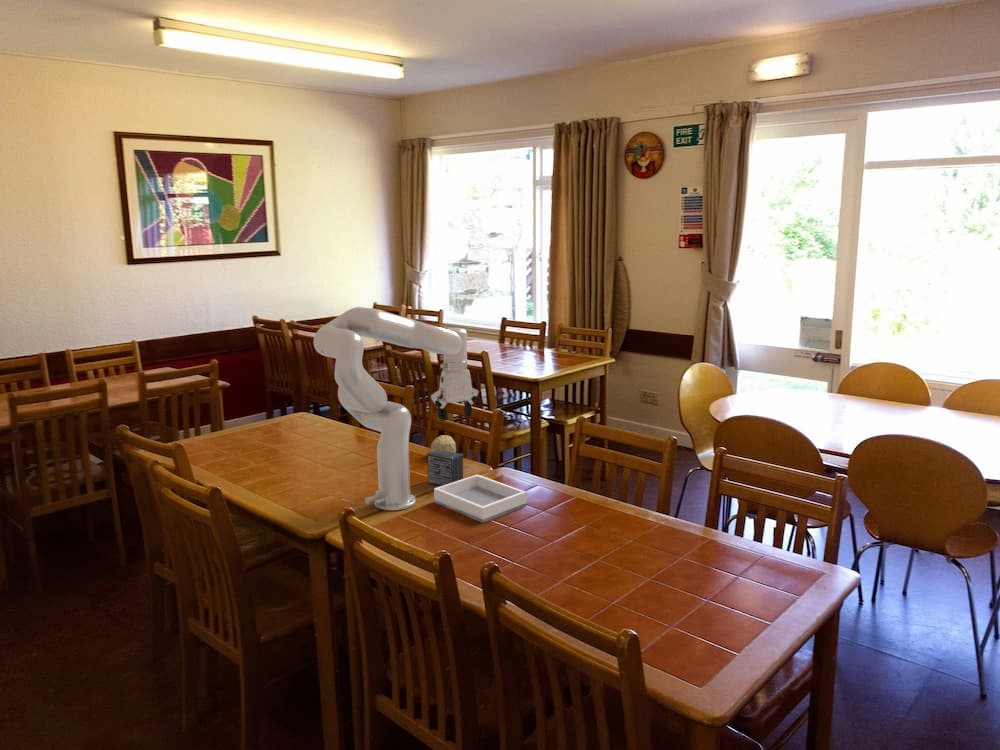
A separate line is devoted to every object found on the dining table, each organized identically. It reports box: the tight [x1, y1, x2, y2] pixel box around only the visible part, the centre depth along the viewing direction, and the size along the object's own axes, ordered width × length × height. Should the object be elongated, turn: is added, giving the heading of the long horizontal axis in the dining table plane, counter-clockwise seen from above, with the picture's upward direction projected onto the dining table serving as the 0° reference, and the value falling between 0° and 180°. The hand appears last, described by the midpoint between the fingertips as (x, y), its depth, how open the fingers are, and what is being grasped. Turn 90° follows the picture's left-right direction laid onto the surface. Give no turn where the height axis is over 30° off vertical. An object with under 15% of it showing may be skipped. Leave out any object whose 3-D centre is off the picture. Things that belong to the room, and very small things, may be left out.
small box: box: [426, 450, 464, 487], centre depth 234 cm, size 11×6×10 cm, turn 58°
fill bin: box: [433, 474, 527, 524], centre depth 217 cm, size 18×22×4 cm
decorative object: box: [430, 434, 457, 453], centre depth 263 cm, size 9×10×10 cm
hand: (455, 417), depth 234 cm, fingers open, 9 cm apart
